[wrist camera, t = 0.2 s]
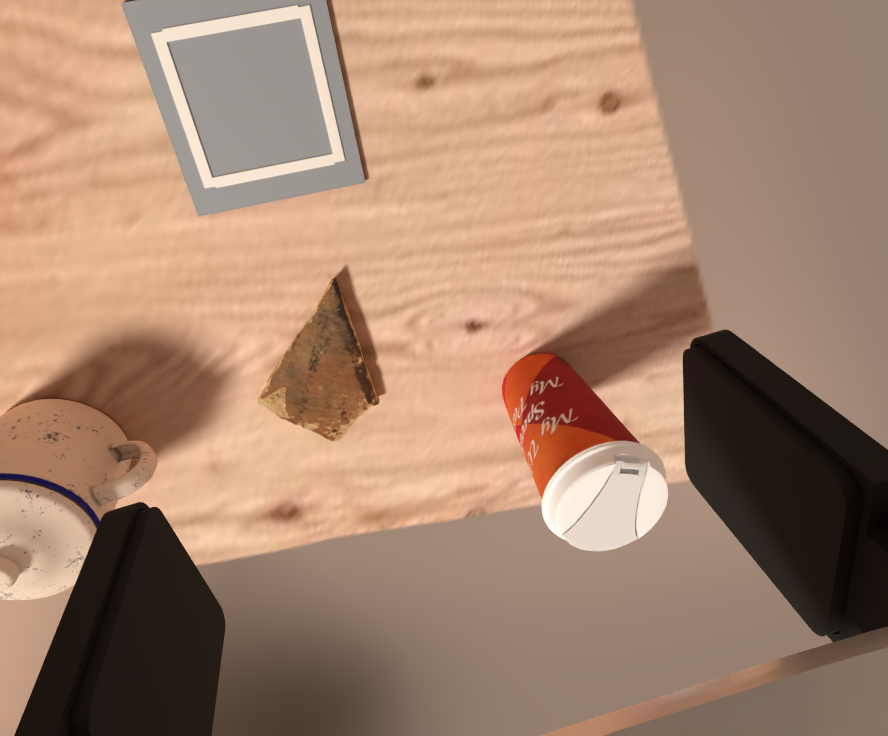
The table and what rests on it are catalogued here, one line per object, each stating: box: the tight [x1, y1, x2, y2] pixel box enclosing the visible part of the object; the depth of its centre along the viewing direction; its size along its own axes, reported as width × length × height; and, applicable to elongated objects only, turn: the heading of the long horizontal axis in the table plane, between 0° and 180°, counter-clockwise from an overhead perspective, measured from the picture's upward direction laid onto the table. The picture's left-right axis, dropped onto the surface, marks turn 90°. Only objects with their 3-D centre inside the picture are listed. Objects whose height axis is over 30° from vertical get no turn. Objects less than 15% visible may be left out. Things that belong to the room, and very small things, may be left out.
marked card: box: [121, 0, 365, 216], centre depth 35 cm, size 11×10×1 cm
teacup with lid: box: [0, 399, 157, 600], centre depth 38 cm, size 12×9×12 cm
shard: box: [257, 278, 379, 441], centre depth 44 cm, size 11×8×2 cm
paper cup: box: [502, 353, 668, 551], centre depth 42 cm, size 8×8×14 cm
